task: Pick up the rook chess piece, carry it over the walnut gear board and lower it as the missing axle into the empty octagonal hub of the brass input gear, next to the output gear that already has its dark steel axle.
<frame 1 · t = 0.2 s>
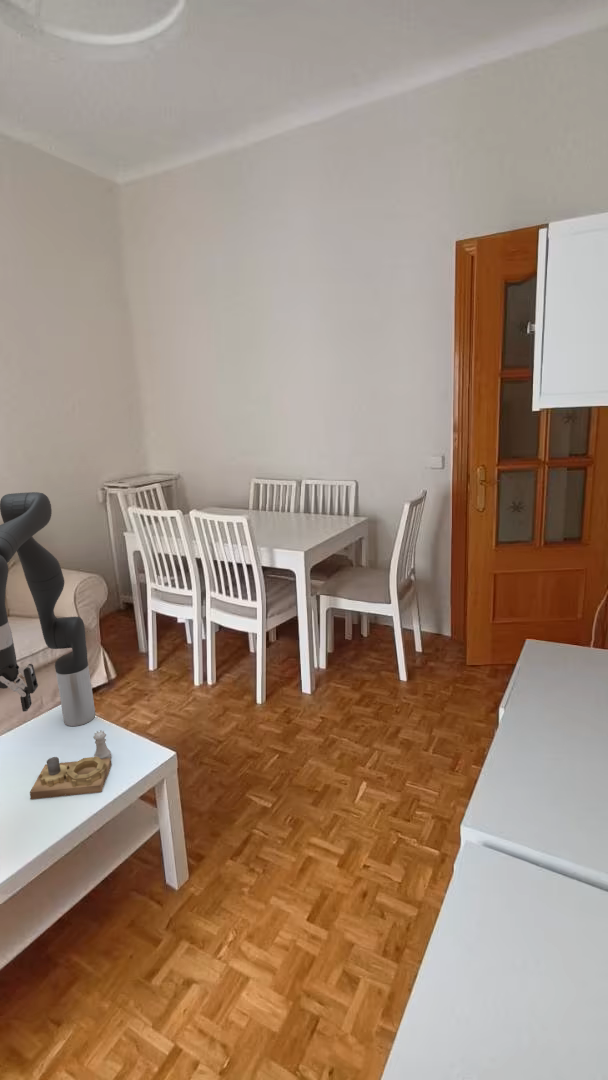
hand: (6, 711, 122), 29 cm above the table, fingers open, 8 cm apart
gear board: (73, 781, 142), on the table
rook chess piece: (103, 759, 151), on the table
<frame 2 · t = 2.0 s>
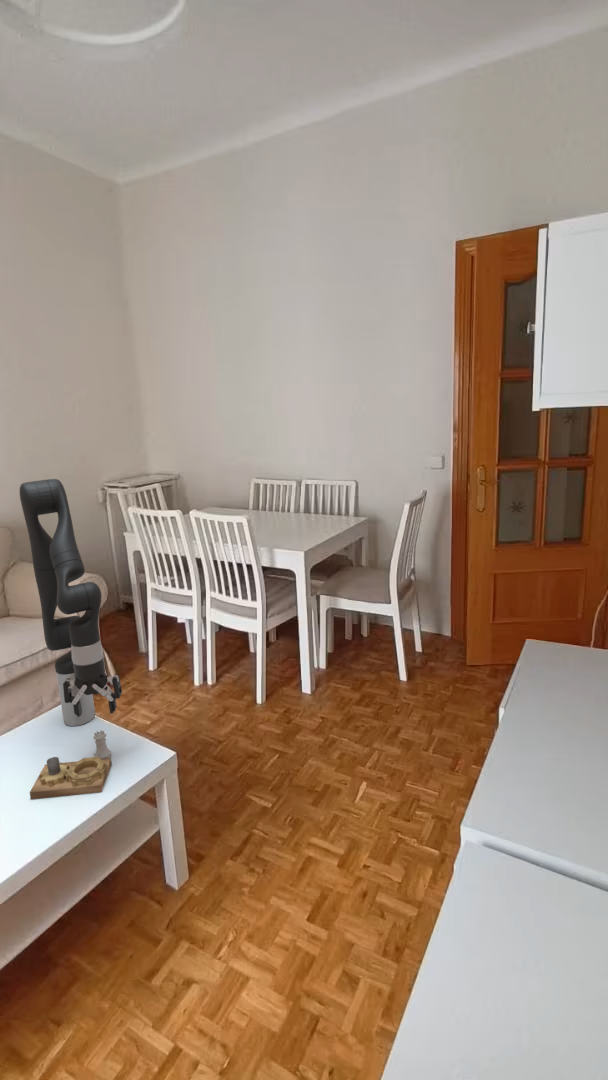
hand: (96, 713, 147), 14 cm above the table, fingers open, 8 cm apart
nothing on the table moved.
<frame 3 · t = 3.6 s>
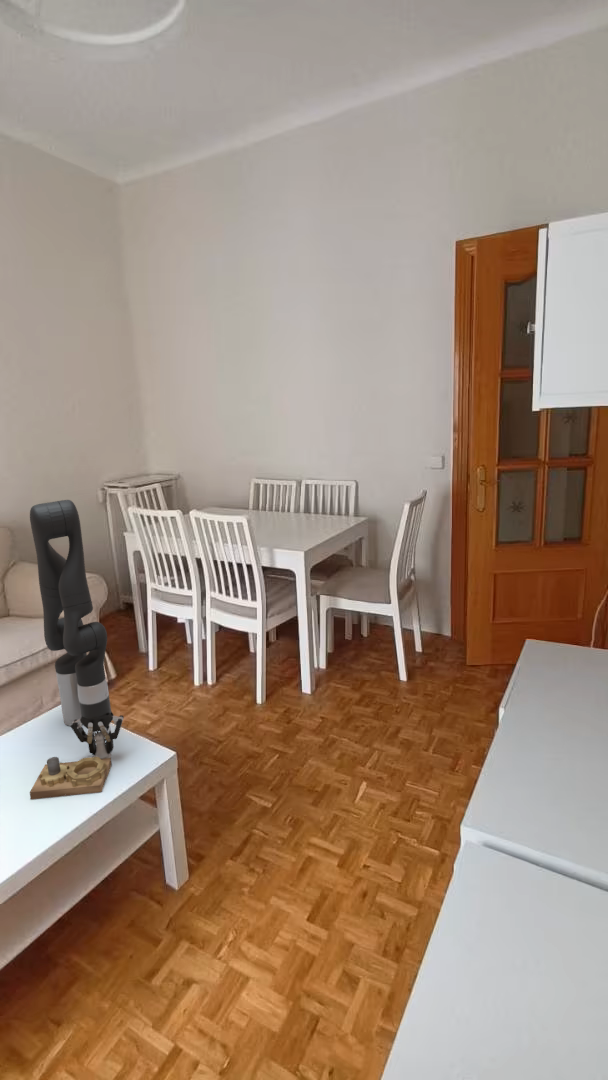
hand: (102, 752, 150), 2 cm above the table, fingers closed on rook chess piece, 3 cm apart
rook chess piece: (103, 759, 151), on the table, touching gripper
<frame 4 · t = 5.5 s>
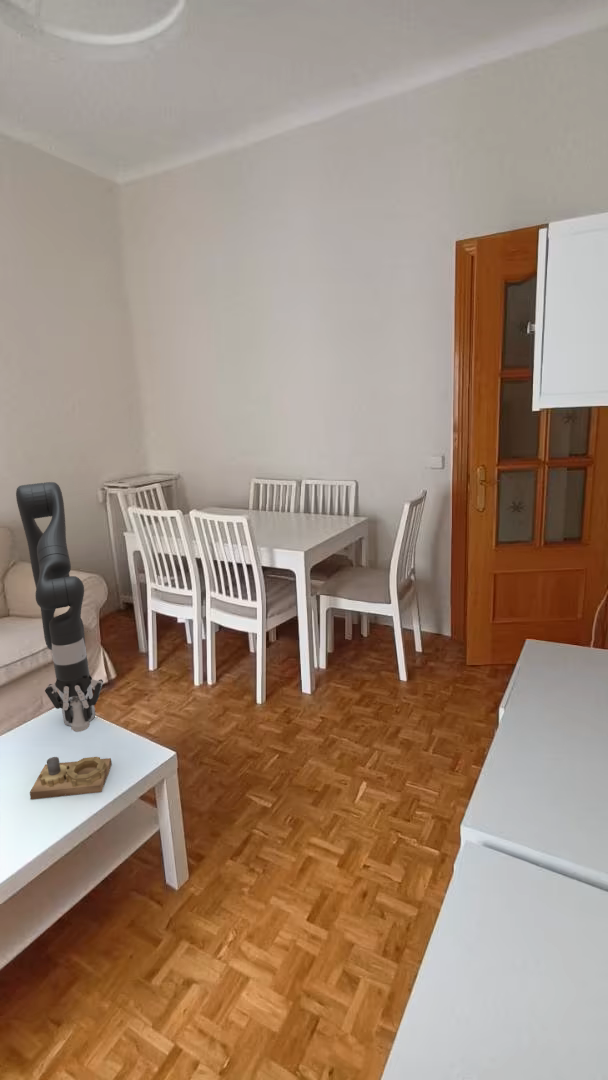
hand: (79, 720, 138), 18 cm above the table, fingers closed on rook chess piece, 3 cm apart
rook chess piece: (80, 728, 138), point 15 cm above the table, touching gripper
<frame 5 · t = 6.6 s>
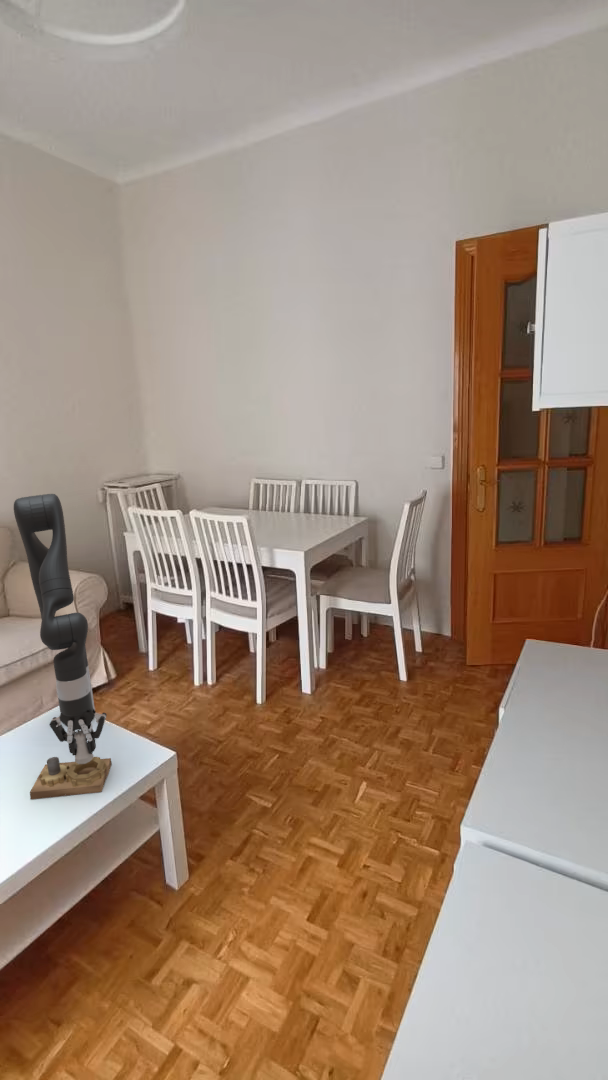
hand: (83, 752, 140), 8 cm above the table, fingers closed on rook chess piece, 3 cm apart
rook chess piece: (84, 760, 141), point 6 cm above the table, touching gripper
when the fingers open (5 cm above the table, at t = 7.5 s): rook chess piece stays where it is, resting on gear board.
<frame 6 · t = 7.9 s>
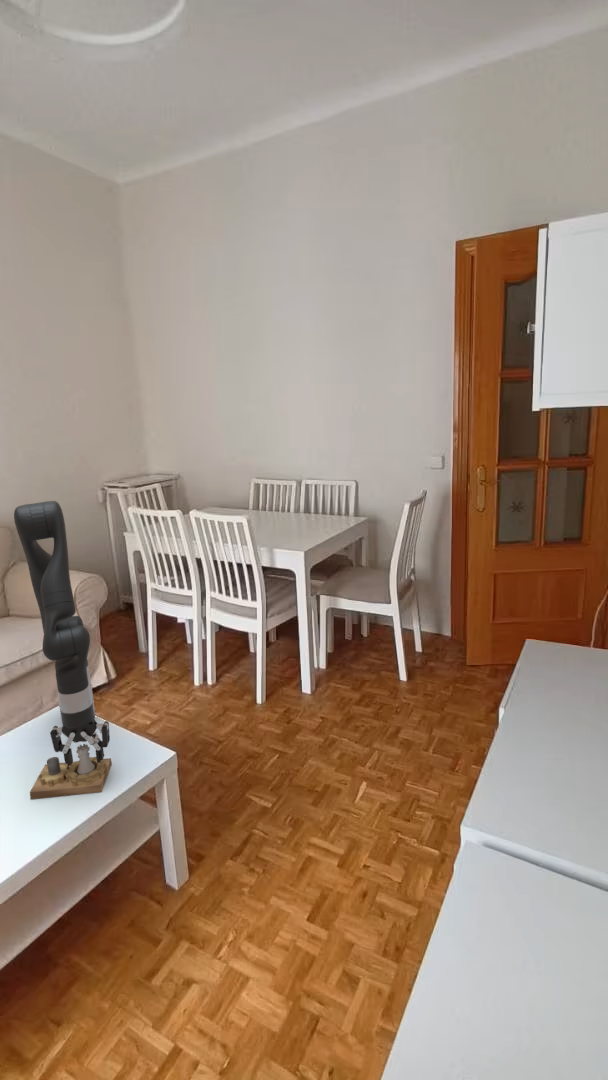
hand: (85, 762, 141), 6 cm above the table, fingers open, 6 cm apart
rook chess piece: (86, 774, 142), point 2 cm above the table, touching gear board
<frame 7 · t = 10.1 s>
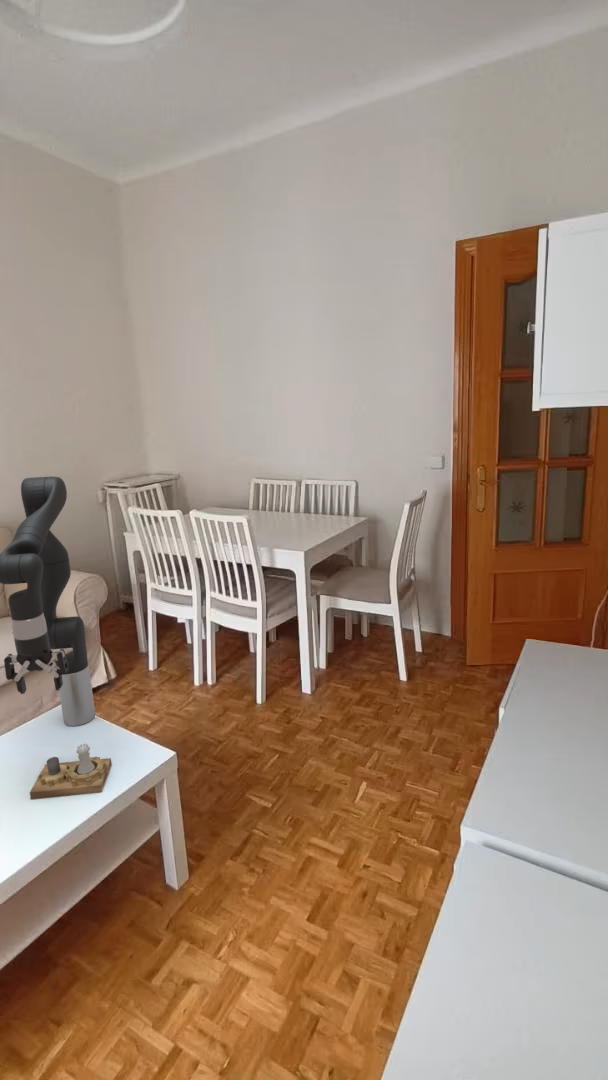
hand: (41, 690, 140), 24 cm above the table, fingers open, 8 cm apart
nothing on the table moved.
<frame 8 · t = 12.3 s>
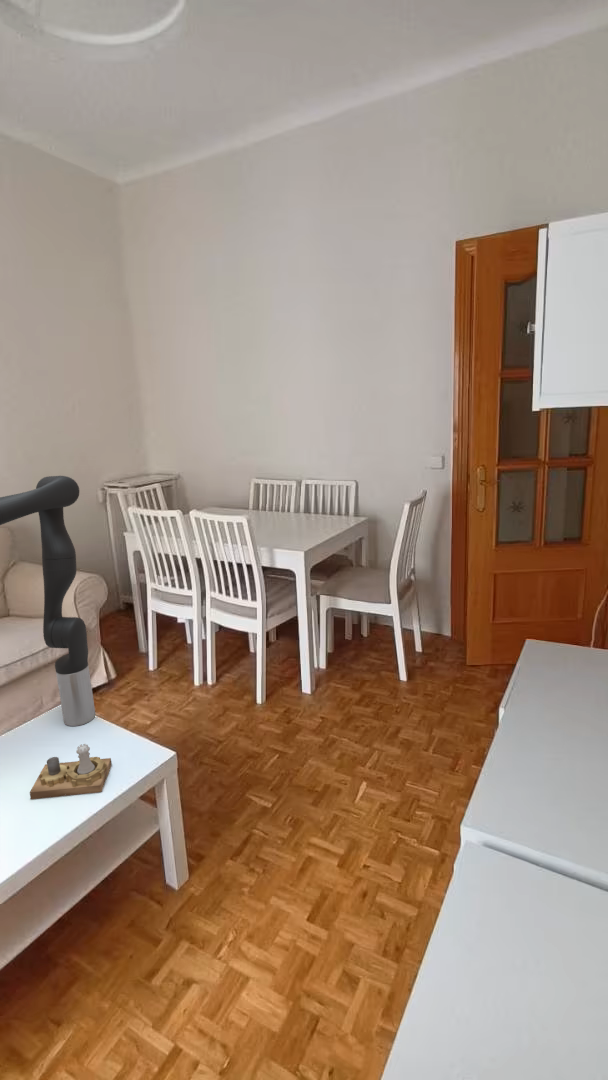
nothing on the table moved.
at the end: rook chess piece 0.0 cm from the target spot on the gear board, point 1.8 cm above the gear board's base; rook chess piece tilted 0°; the gripper is holding nothing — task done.
